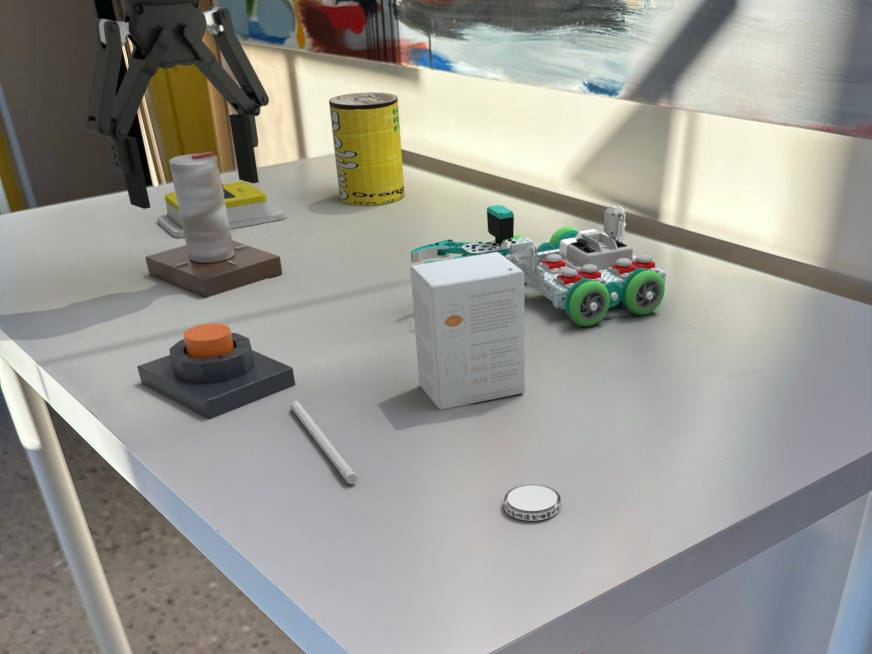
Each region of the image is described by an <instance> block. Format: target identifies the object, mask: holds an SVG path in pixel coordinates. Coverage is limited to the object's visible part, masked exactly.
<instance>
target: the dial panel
mask: <svg viewBox="0 0 872 654" xmlns="http://www.w3.org/2000/svg"><path fill="white" fill-rule="evenodd" d="M232 243H233V248H234V255H233V256H232V257H231V258H229V259H226V260H223V261H219V262H212V263H199V262H194V261H192V260H190V259H189V255H188V250H187V245H186V244H184V245H182V246H179V247H174V248H171V249H167V250H164V251H160V252H157V253H153V254H150V255H149V254H148V255H146V256H144V258H145V261H146V266H147V270H148V274H149V275H150V276H153V277H155V278H158V279H159V280H162V281H164V282H167V283H170V284H172V285H175V286H178V287H179V288H182V289H184V290H187V291H189V292H192V293H195V294H197V295H200V296H202V297H205V298H207V299H208V298H210V297H214V296H217V295H220V294H223V293H227V292H229V291H234V290H235V289H239V288H242V287H245V286H248V285H252V284H255V283H258V282H261V281H265V280H267V279H271V278H274V277H275V278H276V277H278V276H281V275H283V268H282V261H281V257H280V255H278V254H274V253H271V252H268V251H265V250H262V249H259V248H256V247H253V246H250V245H248V244H244V243H241V242H239V241H236V240H233V239H232Z"/></svg>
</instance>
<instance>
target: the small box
mask: <svg viewBox="0 0 872 654" xmlns="http://www.w3.org/2000/svg"><path fill="white" fill-rule="evenodd" d="M449 259H450V260H448V259H443V260H444V261H441V260H437V261H438V262H432V263H426V264H425V263H421V264H420V263H419V264H414V265H411V266H410V269H409V272H410V284H411V285H410V287H411V297H412V308H413V311H412V312H413V323H414V325H413V326H414V335H415V346H416V347H415V348H416V361H417V362H416V363H417V373H418V383H419V386H420V388H421V389H422V390H423V392H424V393H425V394H426V395H427V396H428V398H430V400H431V401H432V402H433V403H434V405H435V406H436V408H438V410H440V411H442V410H447V409H452V408H458V407H462V406H468V405H472V404H477V403H482V402H486V401H492V400H497V399H502V398H507V397H512V396H516V395H521V394H524V393H525V392H526V381H525V380H526V373H525V372H526V371H525V369H526V368H525V367H526V365H525V364H526V363H525V359H526V357H525V355H526V354H525V282H524V272H523V271H522V270H521V269H519V268H518V267H517V266H516V265H514V264H513V263H512V262H510V261H509V260H508V259H506V258H505V257H504V256H502V255H501V254H500V253H498V252H494V253H488V254H482V255H478V254H477V255H475V256H469V257H463V258H457V259H451V258H449Z"/></svg>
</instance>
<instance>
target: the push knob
mask: <svg viewBox="0 0 872 654" xmlns="http://www.w3.org/2000/svg"><path fill="white" fill-rule="evenodd" d="M231 333H232V330H231V328H230V327H229V325H226V324H222V323H214V322H213V323H202V324H198V325H195V326H191V327H189V328H188V329H186V330H185V331H184V332H183V339H184V340H185V345H186V349H187V354H188V355H189V356H191V357H198V358H208V357H215V356H220V355H223V354H226V353H229V352H231V351H233V350H234V345H233V340H232V334H231Z"/></svg>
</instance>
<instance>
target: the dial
mask: <svg viewBox="0 0 872 654" xmlns="http://www.w3.org/2000/svg"><path fill="white" fill-rule="evenodd" d="M168 164H169V168H170V173H171V178H172V182H173V188H174V192H175V193H176V198H177V202H178V207H179V212H180V217H181V221H182V226H183V231H184V236H185V237H184V240H185V245H187V250H188V255H189V259H190V260H192V261H194V262H199V263H212V262H219V261H223V260H226V259H229V258H231V257H232V256H233V255H234V248H233V243H232V240H233V237H232V233H231V229H230V226H229V221H228V215H227V210H226V204H225V199H224V193H223V188H222V184H223V182H222V178H221V171H220V167H219V166H220V165H219V162H218V156H216V155H215V154H214V151H206V152H201V153H189V154H188V153H187V154H183V155H178V156H174V157H172V158H170V159H169V160H168Z"/></svg>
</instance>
